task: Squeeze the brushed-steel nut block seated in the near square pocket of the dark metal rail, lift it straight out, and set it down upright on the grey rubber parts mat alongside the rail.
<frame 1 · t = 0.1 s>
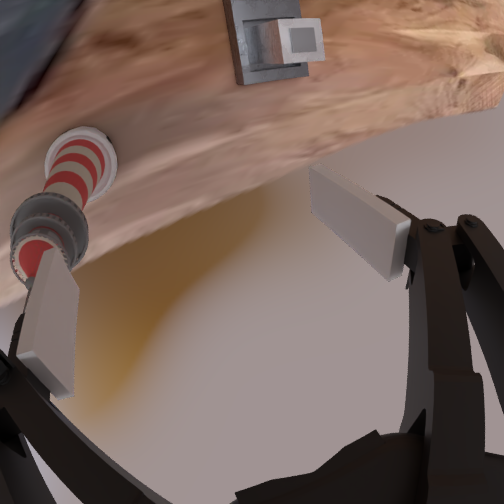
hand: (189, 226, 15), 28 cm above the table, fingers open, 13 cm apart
miniature lighthouse: (84, 158, 36), on the table
nut b: (265, 44, 36), resting on rail
rail: (258, 10, 33), on the table
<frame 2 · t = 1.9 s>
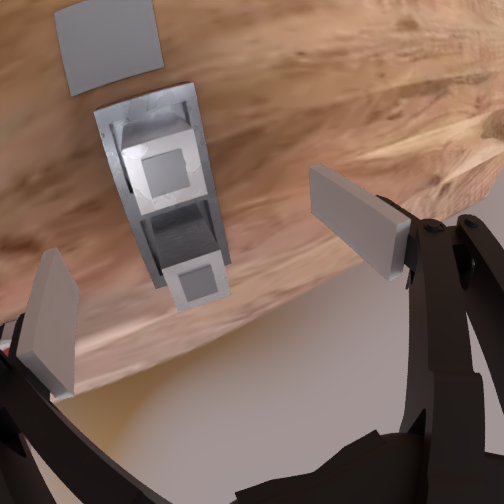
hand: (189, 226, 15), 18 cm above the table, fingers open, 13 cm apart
miniature lighthouse: (26, 341, 35), on the table
mat: (108, 37, 22), on the table
nut b: (178, 228, 35), resting on rail
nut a: (153, 142, 29), resting on rail
rail: (165, 185, 32), on the table
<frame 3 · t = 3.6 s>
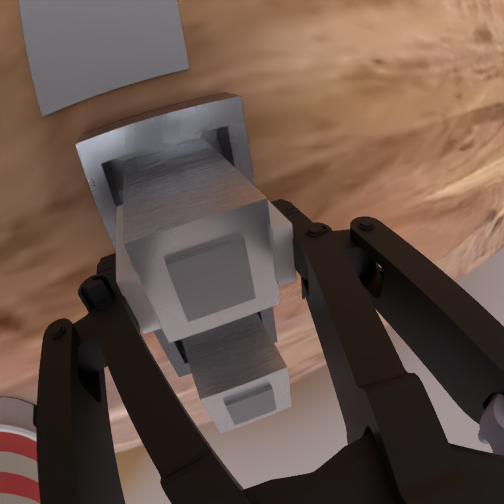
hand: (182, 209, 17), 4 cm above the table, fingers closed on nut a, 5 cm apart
miniature lighthouse: (20, 416, 26), on the table
mat: (99, 21, 13), on the table
nut b: (207, 301, 26), resting on rail
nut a: (173, 186, 20), resting on rail, touching gripper
rail: (190, 246, 23), on the table
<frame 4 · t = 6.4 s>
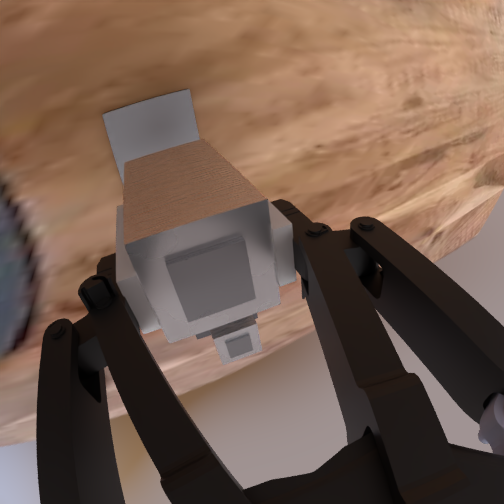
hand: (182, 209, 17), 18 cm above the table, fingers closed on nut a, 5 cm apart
mat: (155, 140, 31), on the table
nut b: (215, 292, 43), resting on rail
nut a: (173, 186, 20), point 14 cm above the table, touching gripper
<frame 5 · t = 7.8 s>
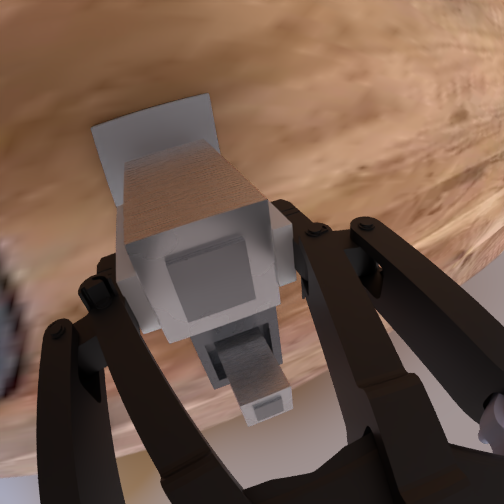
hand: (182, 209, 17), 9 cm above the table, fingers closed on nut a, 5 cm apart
mat: (162, 162, 24), on the table
nut b: (235, 338, 36), resting on rail
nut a: (173, 186, 20), point 5 cm above the table, touching gripper
rail: (225, 305, 34), on the table
when the fingers open (6 cm above the table, at t = 9.2 s): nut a drops 1 cm, resting on mat.
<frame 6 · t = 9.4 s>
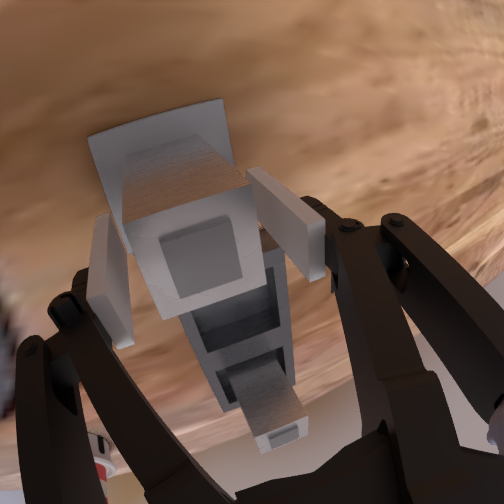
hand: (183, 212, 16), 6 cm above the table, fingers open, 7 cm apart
miniature lighthouse: (81, 443, 34), on the table
mat: (169, 176, 21), on the table
nut b: (246, 360, 34), resting on rail
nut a: (169, 179, 21), point 1 cm above the table, touching mat
rail: (236, 328, 31), on the table
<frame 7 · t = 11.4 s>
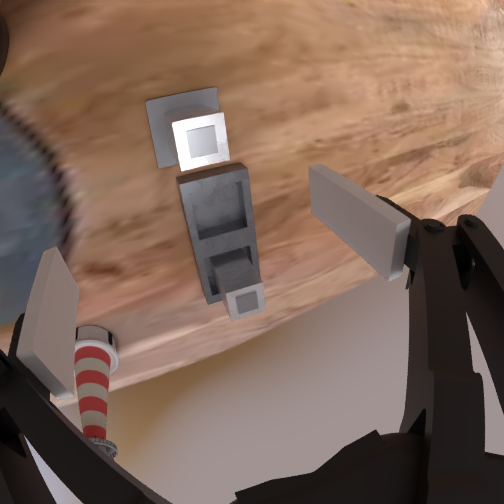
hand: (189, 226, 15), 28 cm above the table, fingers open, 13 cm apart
miniature lighthouse: (93, 342, 50), on the table
mat: (186, 126, 38), on the table
nut b: (225, 262, 50), resting on rail
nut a: (186, 127, 38), point 1 cm above the table, touching mat
rail: (219, 233, 48), on the table
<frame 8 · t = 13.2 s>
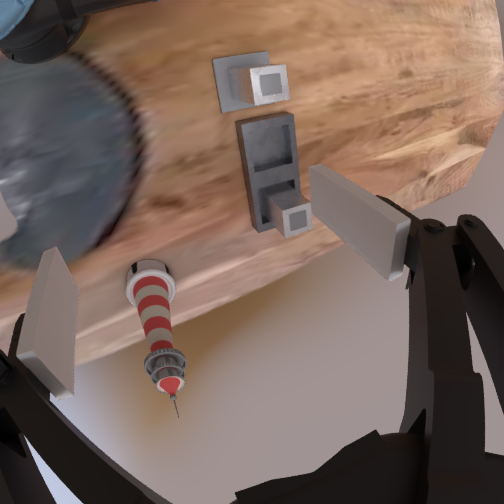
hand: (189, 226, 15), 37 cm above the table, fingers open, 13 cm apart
miniature lighthouse: (148, 278, 59), on the table
mat: (243, 81, 46), on the table
nut b: (272, 196, 58), resting on rail
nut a: (244, 81, 45), point 1 cm above the table, touching mat
rail: (268, 170, 56), on the table
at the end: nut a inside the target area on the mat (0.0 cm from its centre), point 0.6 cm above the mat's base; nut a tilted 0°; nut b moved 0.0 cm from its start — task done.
